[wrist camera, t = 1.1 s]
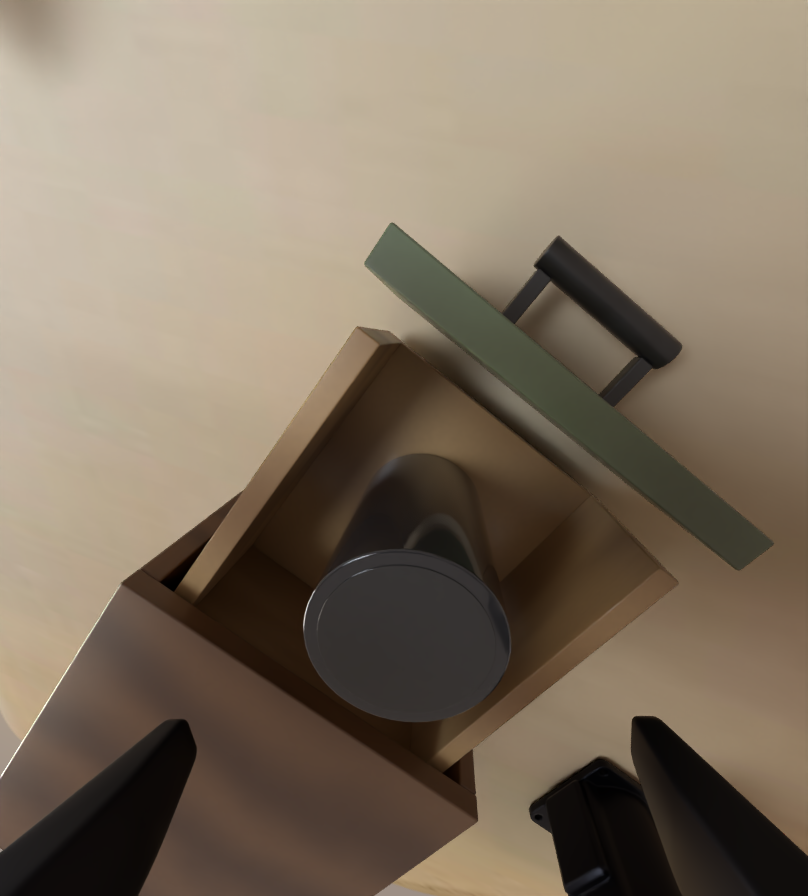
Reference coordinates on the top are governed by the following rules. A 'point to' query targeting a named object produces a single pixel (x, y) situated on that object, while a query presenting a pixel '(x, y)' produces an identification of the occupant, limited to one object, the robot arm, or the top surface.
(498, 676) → the cup
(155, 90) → the top surface
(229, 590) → the drawer
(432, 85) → the top surface
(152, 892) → the cabinet
